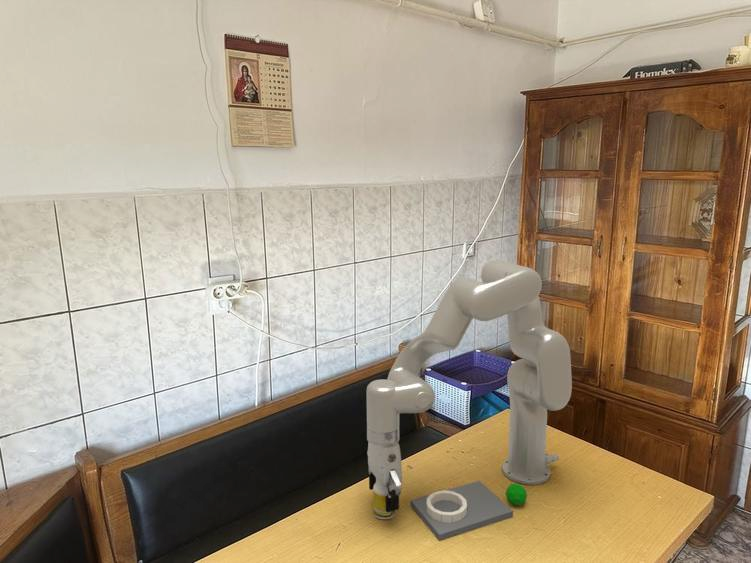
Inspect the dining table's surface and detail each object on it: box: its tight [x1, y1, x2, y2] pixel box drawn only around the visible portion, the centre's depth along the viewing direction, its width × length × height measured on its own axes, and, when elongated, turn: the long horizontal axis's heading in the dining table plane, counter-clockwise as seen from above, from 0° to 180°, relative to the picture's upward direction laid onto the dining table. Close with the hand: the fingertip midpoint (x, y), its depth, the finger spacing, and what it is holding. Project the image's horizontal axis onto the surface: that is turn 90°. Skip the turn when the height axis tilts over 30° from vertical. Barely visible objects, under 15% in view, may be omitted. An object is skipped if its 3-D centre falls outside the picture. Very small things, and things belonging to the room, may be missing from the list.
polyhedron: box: [505, 483, 528, 506], centre depth 131 cm, size 5×5×5 cm
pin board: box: [410, 480, 514, 542], centre depth 129 cm, size 20×14×4 cm
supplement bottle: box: [372, 478, 397, 520], centre depth 128 cm, size 5×5×10 cm
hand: (383, 498), depth 128 cm, fingers open, 9 cm apart
